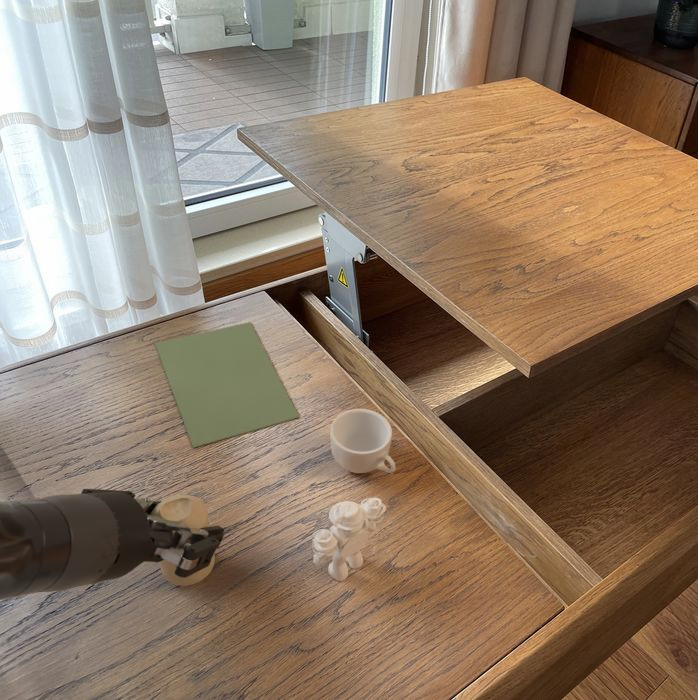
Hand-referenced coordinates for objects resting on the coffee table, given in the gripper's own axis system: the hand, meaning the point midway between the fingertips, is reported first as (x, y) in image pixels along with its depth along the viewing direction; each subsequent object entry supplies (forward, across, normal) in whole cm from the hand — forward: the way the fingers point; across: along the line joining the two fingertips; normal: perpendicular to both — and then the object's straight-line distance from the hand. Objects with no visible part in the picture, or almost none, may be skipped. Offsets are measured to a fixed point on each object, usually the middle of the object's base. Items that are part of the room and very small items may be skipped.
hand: (194, 523), depth 75 cm
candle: (+3, 0, -5) cm, 6 cm away
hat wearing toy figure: (+10, +14, +1) cm, 17 cm away
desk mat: (+21, -17, +12) cm, 30 cm away
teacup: (+20, +8, +10) cm, 24 cm away
